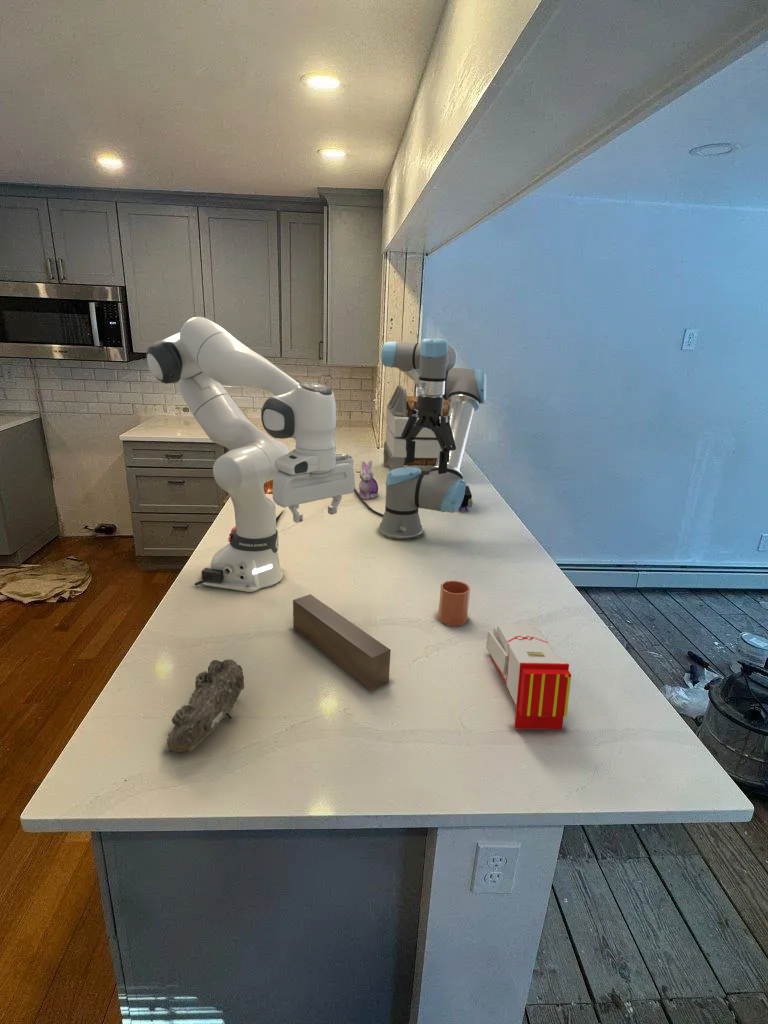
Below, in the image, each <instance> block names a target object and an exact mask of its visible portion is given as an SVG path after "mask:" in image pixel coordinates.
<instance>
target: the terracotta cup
mask: <svg viewBox="0 0 768 1024" xmlns="http://www.w3.org/2000/svg"><path fill="white" fill-rule="evenodd" d="M470 594H471V587H470V586H469V585H468V584H467V583H465V582H463V581H459V580H446V581H444V582H442V583H441V584H440V588H439V599H438V609H437V610H438V612H437V619H438V621H439V622H441V623H442V624H445V625H446V626H452V627H456V626H457V627H459V626H462V625H464V624H466V623H467V620H468V613H469V606H470V605H469V604H470Z"/></svg>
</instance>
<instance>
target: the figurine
mask: <svg viewBox="0 0 768 1024" xmlns="http://www.w3.org/2000/svg"><path fill="white" fill-rule="evenodd" d="M372 466H373V460H369V461H368V463H367V464H366V462H365V461H364V460H362V461H361V471H360V472H359V478H360V482H359V484H358V490H359V492H358V494H359V496H360V497H361V498H362V499H363V500H369V499H374V498H377V497H378V493H379V485H378V481H377V480H376V478H374V473H373V471H372Z"/></svg>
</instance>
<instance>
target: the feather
mask: <svg viewBox="0 0 768 1024" xmlns="http://www.w3.org/2000/svg"><path fill="white" fill-rule="evenodd" d="M283 512H284V509H282V511H281V512H280V513H279V514H278V516H276V524H277V523H278V522H279V520H280V518H281V516H282V514H283Z"/></svg>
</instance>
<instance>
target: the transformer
mask: <svg viewBox="0 0 768 1024" xmlns="http://www.w3.org/2000/svg"><path fill="white" fill-rule="evenodd" d="M407 394H408V393H407V390H406V389H404V388H403V387H402V385H399V384H398V385H397V386H396V388H395V390H394V392H393V394H392V395H391V398H390V400H389V402H388V404H387V405H386V413H385V414H386V415H385V423H386V428H385V438H384V442H383V466H384V467H388V468H389V472H390V471H391V470H393V469H397V468H402V467H405V466H406V467H417V466H418V467H434V466H436V462H437V458H438V453H439V449H440V444H439V442H438V440H437V438H436V436H435V434H434V432H433V431H432V430H431V429H428V428H422V430H421V431H420V432H419V433H418V435H417V436H416V437H415V438H414V440H412V441H416V442H415V457H414V462H413V463H406V455H407V451H406V441H405V439H404V438H402V437H401V435H402V432H403V430H404V428H405V426H406V423H407V421H408V419H409V416H410V410H411V409H418V408H417V398H418V396H419V395H418V396H415V395H414V396H413V395H412V396H411V395H407ZM449 408H450V406H449V405H448V403H447V400H444V404H443V409H442V411H441V416H448V412H449ZM418 419H419V418H418ZM418 419H417V421H418ZM417 421H416V422H417ZM414 426H415V425H414ZM460 472H461V473H462V468H461V469H460Z"/></svg>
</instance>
